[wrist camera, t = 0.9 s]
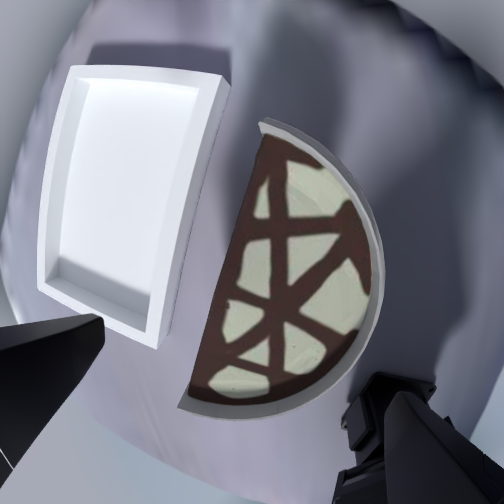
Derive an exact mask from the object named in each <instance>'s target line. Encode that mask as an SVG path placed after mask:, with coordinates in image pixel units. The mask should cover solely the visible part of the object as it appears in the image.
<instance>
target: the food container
mask: <svg viewBox="0 0 504 504" xmlns="http://www.w3.org/2000/svg"><path fill="white" fill-rule="evenodd" d="M258 124H259V127H260V130H261V133H262V136H263V139H262V142H261V145H260V148H259V150H258V152H257V154H256V159H255V165H254V168H253V172H252V175H251V178H250V182H249V185H248V188H247V191H246V194H245V197H244V200H243V203H242V206H241V209H240V213H239V216H238V219H237V222H236V225H235V229H234V232H233V235H232V238H231V242H230V245H229V248H228V251H227V254H226V257H225V260H224V264H223V267H222V270H221V273H220V276H219V279H218V282H217V286H216V289H215V292H214V296H213V299H212V303H211V307H210V311H209V315H208V318H207V322H206V326H205V329H204V333H203V336H202V340H201V343H200V347H199V351H198V354H197V358H196V361H195V365H194V369H193V372H192V376H191V380H190V382H189V384H188V386H187V388H186V390H185V392H184V394H183V396H182V398H181V400H180V402H179V404H178V406H177V409H178V410H181V411H184V412H187V413H190V414H193V415H196V416H201V417H206V418H211V419H216V420H228V421H248V420H260V419H265V418H270V417H275V416H279V415H282V414H285V413H288V412H291V411H294V410H297V409H299V408H301V407H303V406H305V405H307V404H309V403H311V402H313V401H315V400H316V399H318V398H319V397H321V396H322V395H324V394H325V393H326V392H328V391H329V390H330V389H332V388H333V387H334V386H336V385H337V384H338V383H339V381H340V380H341V379H342V378H343V377H344V376H345V375H346V374H347V373H348V372H349V371H350V370H351V369H352V367H353V366H354V365H355V363H356V362H357V360H358V359H359V357H360V356H361V354H362V353H363V351H364V350H365V348H366V346H367V343H368V341H369V339H370V337H371V335H372V333H373V330H374V328H375V326H376V323H377V321H378V318H379V314H380V310H381V306H382V301H383V297H384V286H385V262H384V253H383V246H382V240H381V237H380V233H379V230H378V227H377V224H376V221H375V218H374V215H373V212H372V209H371V206H370V204H369V202H368V200H367V198H366V197H365V195H364V193H363V191H362V189H361V187H360V186H359V184H358V182H357V181H356V179H355V178H354V177H353V176H352V174H351V173H350V172H349V171H348V169H347V168H346V167H345V166H344V164H343V163H342V162H341V161H340V160H339V159H338V158H337V157H336V156H335V155H334V154H332V153H331V152H330V151H329V150H328V149H327V148H326V147H324V146H323V145H322V144H321V143H320V142H319V141H317V140H315V139H314V138H312V137H310V136H309V135H307V134H306V133H304V132H302V131H300V130H299V129H297V128H295V127H293V126H291V125H288V124H286V123H283V122H281V121H278V120H275V119H273V118H268V117H264V120H263V122H260V121H259V123H258Z"/></svg>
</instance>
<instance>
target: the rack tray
mask: <svg viewBox="0 0 504 504" xmlns="http://www.w3.org/2000/svg"><path fill="white" fill-rule="evenodd" d="M230 90H231V86H230V85H229V84H228V82H227V81H226V80H225V79H224V77H223V76H222V75H217V74H211V73H204V72H197V71H189V70H181V69H172V68H161V67H148V66H130V65H77V66H71V68H70V71H69V73H68V76H67V79H66V83H65V86H64V89H63V92H62V96H61V99H60V102H59V106H58V110H57V114H56V117H55V122H54V126H53V130H52V134H51V139H50V144H49V149H48V154H47V160H46V165H45V172H44V178H43V186H42V194H41V203H40V213H39V226H38V247H37V285H38V290H40V291H42V292H43V293H45V294H47V295H48V296H50V297H52V298H54V299H55V300H57V301H59V302H61V303H62V304H64V305H66V306H68V307H70V308H71V309H73V310H75V311H77V312H79V313H81V314H89V313H94V314H96V315H99V316H101V317H102V318H103V319H104V326H106V327H108V328H110V329H112V330H114V331H116V332H119V333H121V334H123V335H125V336H127V337H129V338H131V339H134V340H136V341H138V342H140V343H143V344H145V345H147V346H150V347H152V348H154V349H157V348H158V347H159V346H160V344H161V343H162V342H163V341H164V339H165V338H166V337H167V336H168V334H169V333H170V328H171V323H172V317H173V312H174V307H175V302H176V297H177V292H178V287H179V282H180V278H181V273H182V268H183V264H184V259H185V255H186V250H187V246H188V241H189V237H190V233H191V229H192V225H193V220H194V216H195V212H196V208H197V204H198V200H199V197H200V193H201V189H202V185H203V181H204V178H205V174H206V170H207V167H208V163H209V159H210V156H211V152H212V149H213V145H214V142H215V138H216V135H217V132H218V128H219V125H220V122H221V118H222V115H223V112H224V109H225V106H226V102H227V99H228V96H229V93H230Z"/></svg>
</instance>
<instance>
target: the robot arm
mask: <svg viewBox="0 0 504 504" xmlns="http://www.w3.org/2000/svg"><path fill="white" fill-rule="evenodd" d="M104 343H105V327H104V319H103V318H102V317H101V316H99V315H96V314H94V313H89V314H83V315H77V316H71V317H65V318H59V319H52V320H46V321H40V322H33V323H26V324H20V325H13V326H6V327H0V488H1V487H2V485H3V484H4V482H5V481H6V480H7V478H8V477H9V475H10V474H11V472H12V471H13V469H14V468H15V466H16V465H17V463H18V462H19V461H20V460H21V458H22V457H23V455H24V454H25V453H26V451H27V450H28V449H29V447H30V446H31V444H32V443H33V442H34V440H35V439H36V438H37V436H38V435H39V434H40V432H41V431H42V430H43V429H44V427H45V426H46V425H47V423H48V422H49V421H50V419H51V418H52V417H53V416H54V414H55V413H56V412H57V410H58V409H59V408H60V406H61V405H62V404H63V403H64V402H65V400H66V399H67V398H68V396H69V395H70V394H71V393H72V391H73V390H74V389H75V388H76V387H77V385H78V384H79V383H80V381H81V380H82V379H83V377H84V376H85V374H86V373H87V371H88V369H89V368H90V366H91V365H92V363H93V362H94V360H95V358H96V357H97V355H98V354H99V352H100V351H101V349H102V348H103V346H104ZM377 378H379V379H378V380H376V379H377ZM430 388H431V389H430ZM436 388H437V387H436V385H435V384H434V383H432V382H427V381H421V380H416V379H411V378H406V377H401V376H396V375H391V374H386V373H382V372H377V373H375V374H373V375H372V377H371V378H370V380H369V382H368V383H367V385H366V386H365V388H364V390H363V391H362V393H360V394H359V395H358V396H357V398H356V399H355V401H354V402H353V404H352V405H351V407H350V408H349V410H348V411H347V413H346V415H345V416H346V417H345V418H344V420H343V421H342V422H341V428H342V429H343V430H347V431H348V439H349V447H350V450H351V451H355V457H356V465H357V466H355V467H353V468H351V469H348V470H347V469H345V470H343V471H340V472H339V474H338V478H337V483H336V487H335V492H334V496H333V500H332V504H504V469H503V468H502V467H501V466H499V465H498V464H497V463H495V462H494V461H493V460H491V459H490V458H489V457H488V456H487V455H486V454H483V452H482V451H481V450H479V449H478V448H477V447H476V446H475V445H474V444H472V443H471V442H470V441H469V440H468V439H466V438H465V437H464V436H463V435H461V434H460V433H459V432H458V431H457V430H455V428H454V426H453V424H452V422H451V420H450V418H449V416H447V417H446V418H444V419H442V418H441V417H440V416H439V415H437V414H436V413H435V412H434V411H433V410H432V409H431V408H430V406H429V404H428V401H429V399H430V398H431V396H432V395H433V394H434V392H435V391H436Z"/></svg>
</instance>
